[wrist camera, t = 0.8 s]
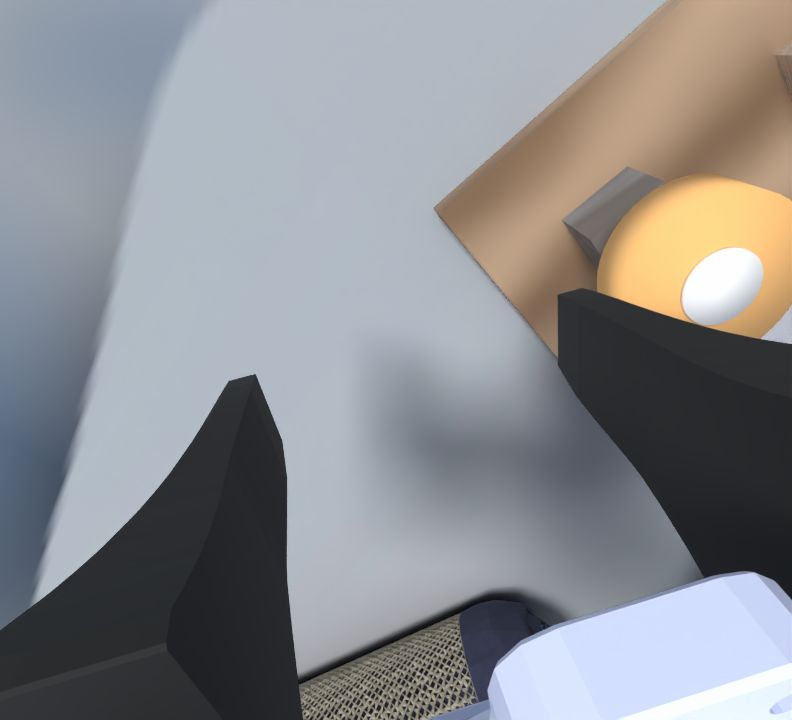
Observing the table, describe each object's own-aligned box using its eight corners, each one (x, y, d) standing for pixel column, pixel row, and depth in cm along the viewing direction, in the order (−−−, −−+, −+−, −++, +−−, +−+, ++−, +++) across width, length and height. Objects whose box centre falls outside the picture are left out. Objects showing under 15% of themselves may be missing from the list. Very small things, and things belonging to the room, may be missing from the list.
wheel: (737, 242, 20) (839, 290, 17) (611, 335, 22) (678, 400, 18) (676, 121, 18) (781, 144, 14) (537, 235, 19) (597, 286, 15)
